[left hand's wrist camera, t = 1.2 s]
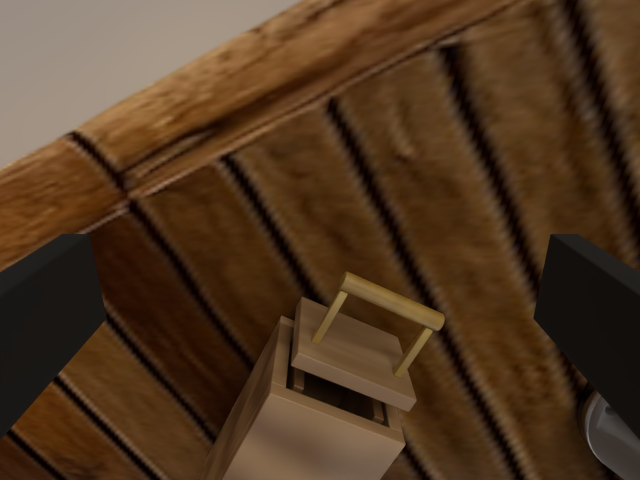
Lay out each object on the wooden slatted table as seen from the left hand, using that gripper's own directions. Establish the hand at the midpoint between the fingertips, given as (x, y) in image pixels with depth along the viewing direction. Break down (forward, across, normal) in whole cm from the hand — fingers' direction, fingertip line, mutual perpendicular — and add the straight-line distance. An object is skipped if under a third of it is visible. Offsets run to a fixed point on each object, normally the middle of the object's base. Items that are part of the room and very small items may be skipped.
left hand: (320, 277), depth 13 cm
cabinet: (+22, +3, +25) cm, 33 cm away
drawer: (+20, 0, +19) cm, 28 cm away
